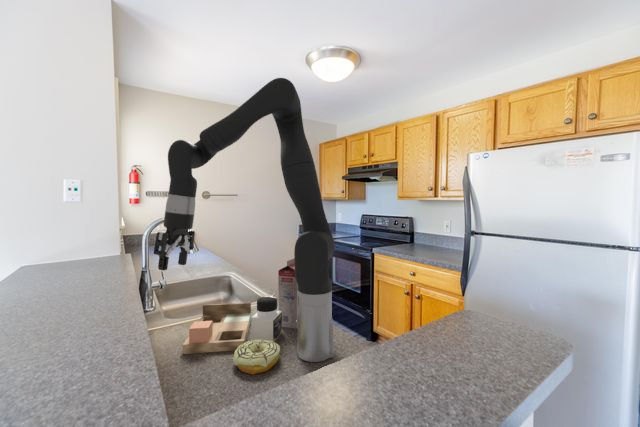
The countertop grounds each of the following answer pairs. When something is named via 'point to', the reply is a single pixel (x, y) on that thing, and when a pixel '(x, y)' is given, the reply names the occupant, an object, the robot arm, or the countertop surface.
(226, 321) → the board
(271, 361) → the decorated donut
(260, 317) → the medicine bottle
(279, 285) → the juice carton
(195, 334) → the block
